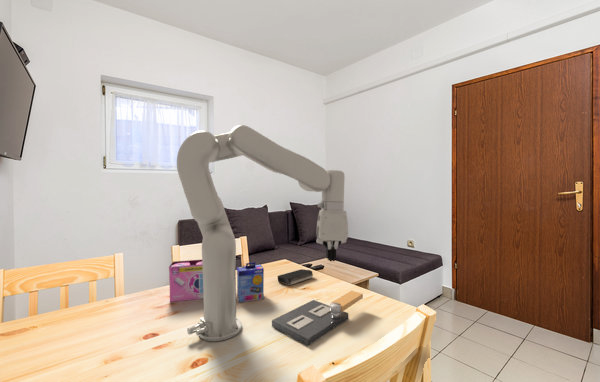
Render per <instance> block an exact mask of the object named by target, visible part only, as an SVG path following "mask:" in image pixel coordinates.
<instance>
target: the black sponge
mask: <svg viewBox="0 0 600 382" xmlns="http://www.w3.org/2000/svg"><path fill="white" fill-rule="evenodd" d="M313 276H314V273H313V271H312V270H310V269H304V268H303V269H297V270H293V271H290V272H286V273H284V274H279V275H277V282H278V283H280V284H284V285H289V286H291V285H294V284H298V283H300V282H303V281H306V280H309V279H312V278H313Z"/></svg>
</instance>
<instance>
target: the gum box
mask: <svg viewBox="0 0 600 382" xmlns="http://www.w3.org/2000/svg"><path fill="white" fill-rule="evenodd" d="M168 273H169V274H168V275H169V276H168V278H169V279H168V280H169V302H170V303H172V302H173V303H174V302H183V301H192V300H201V299H203V264H202V259H193V260H191V259H190V260H189V259H188V260H175V261H172V262H171V264H169V266H168Z"/></svg>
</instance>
